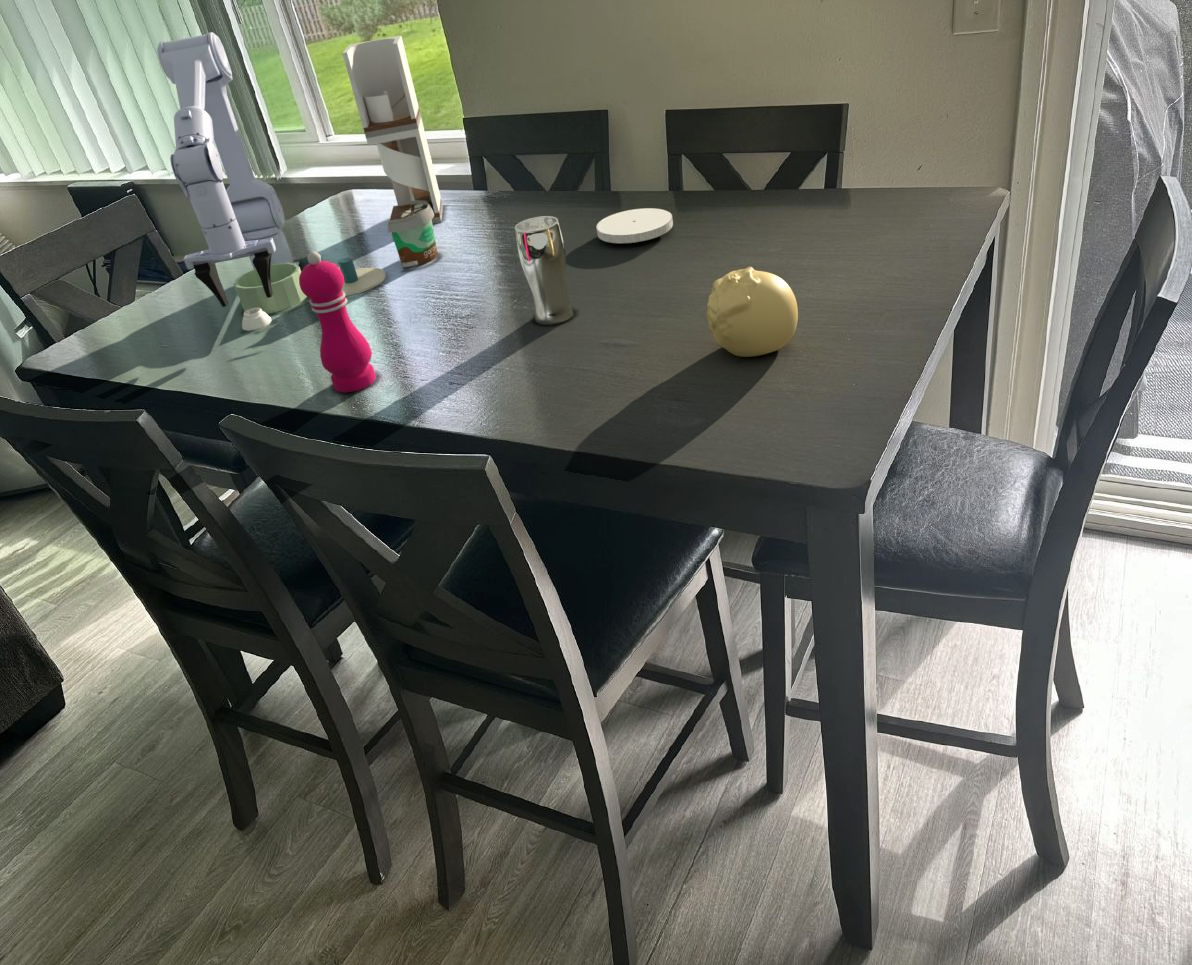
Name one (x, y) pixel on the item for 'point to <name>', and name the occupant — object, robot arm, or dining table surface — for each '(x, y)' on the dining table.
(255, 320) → the lidless jar
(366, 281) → the tub lid
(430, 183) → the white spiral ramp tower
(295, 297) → the tub
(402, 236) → the food container
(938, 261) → the dining table surface
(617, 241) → the plastic lid
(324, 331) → the pepper mill
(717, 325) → the sculpture
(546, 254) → the beer glass
